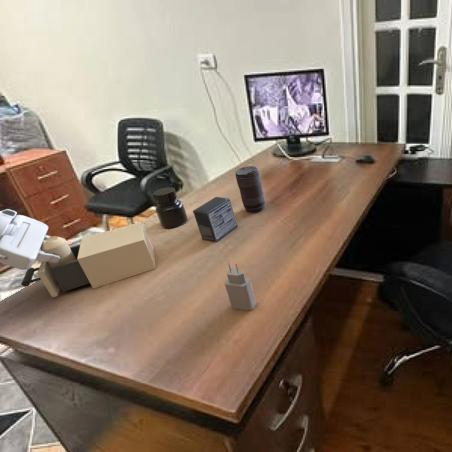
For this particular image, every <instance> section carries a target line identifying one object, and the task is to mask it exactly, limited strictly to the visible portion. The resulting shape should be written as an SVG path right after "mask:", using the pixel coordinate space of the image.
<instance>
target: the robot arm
mask: <svg viewBox="0 0 452 452" xmlns="http://www.w3.org/2000/svg"><path fill="white" fill-rule="evenodd" d="M48 230H49V226H48V225H47V224H46V223H45V222H41V221H39V220H37V219H34V218H31V217H29V216H26V215H23V214H18V212H17V211H15V210H13V209H10V208H6V209H3V210H0V264H2V265H5V266H8V267H11V268H15V269H18V270H22V271H27V270H28V269H30V268H32V266H33V265H34V263H35V261H36V262H42V261H50V262H53V263H58V261H59V260H60V257H61V256H60V255H59V254H55V253H53V254H48V253H44V252H43V251H41V249H40V247H41V245H42V243H43V240H46V239H47V238H49V237H52V236H50V235H48V234H47V233H48Z"/></svg>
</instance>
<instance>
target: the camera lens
mask: <svg viewBox="0 0 452 452" xmlns="http://www.w3.org/2000/svg"><path fill="white" fill-rule="evenodd" d="M234 173H235V180H236V184H237V187H238V189H239V194H240V198H241V202H242V205H243V208H245V211H246V213H251V214H254V213H255V214H256V213H258V212H259V213H260V212H261V211H263V210H265V204H266V201H265V194H264V190H263V186H262V178H261V174H260V170H259V168H258V167H257V166H253V165H251V166H250V165H247V166H243V167H241V168H237V170H235V171H234Z"/></svg>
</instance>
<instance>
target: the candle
mask: <svg viewBox="0 0 452 452" xmlns="http://www.w3.org/2000/svg"><path fill="white" fill-rule="evenodd" d="M68 243H69V242H67V240H66V238H64V237H61V236H57V235H53V236H51V237H49V238H47V239H46V240H43V243H42V245H41V247H40V251H43V252H44V253H48V254H53V253H55V254H59V255H60V256H61V257H60V260H59V261H58V263H53V262H50V261H48V263H49V264H50V266H51V267H54V266H58V265H61V264H64V263H68V262H71V261H75V260H76V258H75V256H74V254H73V253H72V251H71V249H70V247H71V246H70V245H69V244H68Z"/></svg>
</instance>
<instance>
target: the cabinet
mask: <svg viewBox="0 0 452 452" xmlns="http://www.w3.org/2000/svg"><path fill="white" fill-rule="evenodd" d="M77 260H78V262H79V263H80V265H81V267H82V269H83V271H84V273H85V274H86V276H87V278H88V280H89V282H90V283H89V284H90V285H91V288H92V289H96V288H100V287H102V286H106V285H109V284H112V283H115V282H118V281H121V280H125V279H128V278H131V277H134V276H137V275H140V274H144V273H146V272H149V271H153V270H155V269H156V268H157V267H156V266H157V265H156V261H155V260H156V259H155V254H154V247H153V245H152V243H151V241H150V238H149V235H148V233H147V230H146V228H145V226H144V223H143V221H139V222H135V223H131V224H129V225H125V226H124V225H123V226H122V227H117V228H113V229H110V230H107V231H103V232H99V233H96V234H92V235H87V236H85V237H84V236H83V237H81V240H80V249H79V253H78V258H77Z"/></svg>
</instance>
